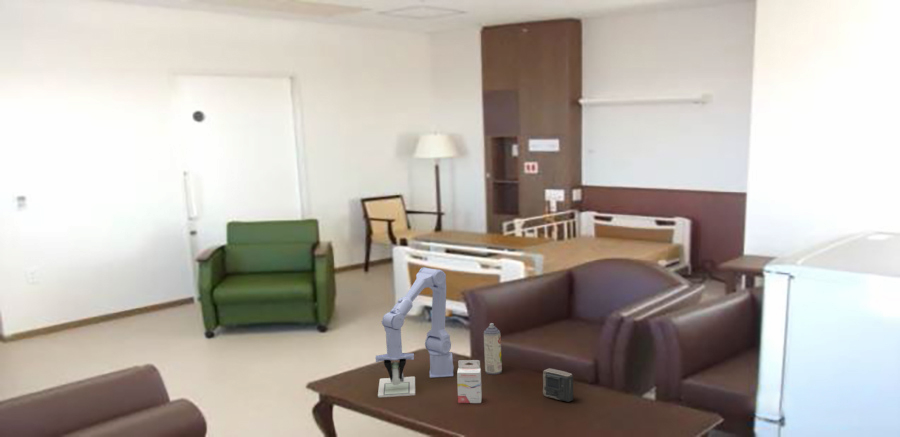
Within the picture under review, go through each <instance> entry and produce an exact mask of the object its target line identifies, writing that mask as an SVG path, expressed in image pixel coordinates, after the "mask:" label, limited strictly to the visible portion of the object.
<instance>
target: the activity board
mask: <svg viewBox="0 0 900 437" xmlns="http://www.w3.org/2000/svg"><path fill="white" fill-rule="evenodd" d="M407 396H409V397H410V396H416V377H415V376H404V372H402V379H400V384H399V385H393V384H392V380H390V377H388V378H387V377H386V378H385V377H384V378H379V383H378V392H377V398H391V397H394V398H395V397H407Z"/></svg>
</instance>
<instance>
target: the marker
mask: <svg viewBox="0 0 900 437" xmlns="http://www.w3.org/2000/svg"><path fill="white" fill-rule="evenodd" d="M391 370H392V384H393V385H399V384H400V365H399V362H398V361H393V362H391Z"/></svg>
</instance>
